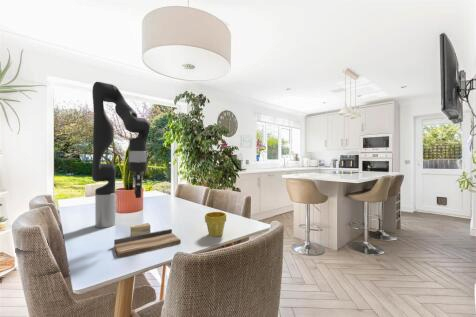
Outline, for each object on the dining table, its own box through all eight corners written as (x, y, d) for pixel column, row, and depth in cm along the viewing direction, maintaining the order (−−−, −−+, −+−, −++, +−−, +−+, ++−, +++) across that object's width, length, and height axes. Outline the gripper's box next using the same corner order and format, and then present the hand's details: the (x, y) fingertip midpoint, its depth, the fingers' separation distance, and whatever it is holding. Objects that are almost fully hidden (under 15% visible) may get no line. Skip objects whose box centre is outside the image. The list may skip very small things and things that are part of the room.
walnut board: (114, 246, 93) (114, 239, 93) (171, 235, 107) (171, 228, 107) (118, 257, 83) (118, 249, 83) (180, 243, 97) (180, 236, 97)
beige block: (130, 236, 106) (130, 225, 106) (148, 232, 111) (148, 222, 111) (132, 239, 102) (132, 228, 102) (150, 235, 107) (150, 225, 107)
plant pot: (200, 236, 106) (200, 215, 106) (211, 229, 116) (211, 210, 115) (219, 239, 102) (219, 218, 102) (229, 232, 111) (229, 212, 111)
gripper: (128, 160, 108) (128, 194, 108) (129, 161, 95) (128, 199, 96) (145, 160, 111) (145, 193, 112) (148, 161, 99) (147, 198, 99)
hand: (137, 196), depth 104 cm, fingers open, 8 cm apart
